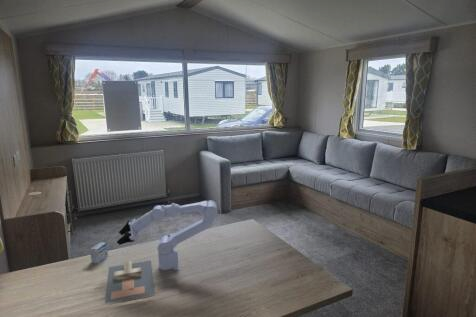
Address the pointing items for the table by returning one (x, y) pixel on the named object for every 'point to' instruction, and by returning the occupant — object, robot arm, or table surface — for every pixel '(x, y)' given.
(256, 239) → the table surface
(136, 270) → the t block
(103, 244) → the medicine box
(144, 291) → the mat
